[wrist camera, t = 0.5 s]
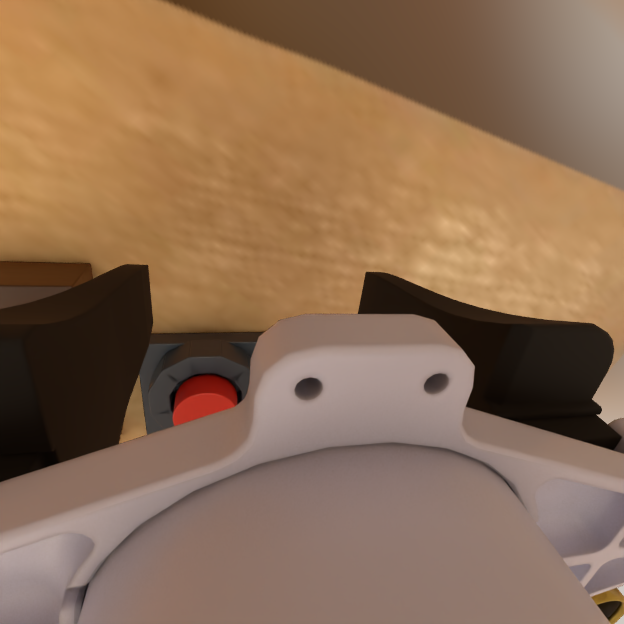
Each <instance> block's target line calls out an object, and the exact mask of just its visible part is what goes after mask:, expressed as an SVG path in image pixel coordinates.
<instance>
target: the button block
mask: <svg viewBox="0 0 624 624" xmlns="http://www.w3.org/2000/svg"><path fill="white" fill-rule="evenodd" d="M263 333H264V332H247V333H177V334H151V337H150V342H149V347H148V350H147V353H146V355H145V358H144V361H143V364H142V366H141V369H140V372H139V375H140V383H141V391H142V399H143V407H144V414H145V422H146V430H147V435H148V434H151V433H155V432H158V431H161V430H164V429H167V428H170V427H173V426H174V423H173V410H174V404H175V397H176V393H177V391H178V389H179V387H180V386H181V385H182V384H183V383H184V382H185V381H187V380H188V379H190V378H192V377H195V376H198V375H204V374H211V375H217V376H220V377H223V378H225V379H227V380H228V381H229V382H230V383H231V384H232V385H233V386H234V388H235V389H236V392H237V404H239V403H240V402H241V401H242V400H243V399H244V398H245V396H246V394H247V392H248V387H249V381H250V360H251V357H252V354H253V351H254V349H255V346H256V343H257V340H258V338H259V336H261V335H262V334H263Z"/></svg>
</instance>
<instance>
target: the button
mask: <svg viewBox="0 0 624 624" xmlns="http://www.w3.org/2000/svg"><path fill="white" fill-rule="evenodd" d="M236 405H238V404H237V392H236V389H235V388H234V386H233V385H232V384H231V383H230V382H229V381H228V380H227V379H225V378H223V377H220V376H217V375H211V374H204V375H198V376H195V377H192V378H190V379H188V380H187V381H185V382H184V383H183V384H182V385H181V386H180V387H179V389H178V391H177V393H176V397H175V404H174V410H173V423H174V426H176V425H179V424H183V423H186V422H189V421H192V420H195V419H198V418H201V417H204V416H207V415H210V414H214V413H217V412H220V411H223V410H226V409H229V408H232V407H235V406H236Z"/></svg>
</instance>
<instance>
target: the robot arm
mask: <svg viewBox="0 0 624 624" xmlns="http://www.w3.org/2000/svg"><path fill="white" fill-rule="evenodd" d="M152 326H153V316H152V304H151V293H150V282H149V270H148V265H132V264H126V265H122V266H120V267H117V268H115V269H113V270H111V271H108V272H106V273H104V274H102V275H100V276H98V277H96V278H94V279H92V280H89V281H87V282H85V283H82V284H80V285H78V286H75V287H73V288H71V289H68V290H66V291H63V292H61V293H58V294H55V295H52V296H49V297H46V298H43V299H39V300H36V301H33V302H29V303H25V304H21V305H16V306H12V307H7V308H3V309H0V624H611V623H610V622H609V621H608V619H607V618H606V617H605V615H604V614H603V613H602V611H601V610H600V609H599V607H598V606H597V605H596V603H595V602H594V600H593V599H592V598H591V597H592V596H595V595H597V594H600V593H603V592H606V591H609V590H612V589H614V588H617V587H620V586H623V585H624V418H620V419H617V420H614V421H612V422H611V423H609V424H606V423H605V422H604V421H603V420H602V419H600V418H599V417H598V416H597V414H600V413H601V411H602V408H601V406H599V405H598V404H597V403H596V402H594V401H593V400H592V398H593V396H594V394H595V393H596V391H597V389H598V387H599V385H600V384H601V382H602V380H603V379H604V377H605V375H606V373H607V372H608V369H609V367H610V365H611V363H612V359H613V354H614V346H613V340H612V338H611V337H610V336H609V334H608V333H607V332H606V331H604V330H602V329H601V328H599V327H598V326H596V325H595V324H592V323H580V322H567V321H554V320H544V319H536V318H529V317H522V316H516V315H511V314H506V313H501V312H496V311H492V310H487V309H483V308H479V307H476V306H473V305H469V304H466V303H462V302H459V301H456V300H453V299H451V298H448V297H445V296H443V295H440V294H437V293H435V292H432V291H430V290H428V289H425V288H423V287H420V286H418V285H416V284H413V283H411V282H409V281H406V280H404V279H402V278H399V277H397V276H394V275H391V274H388V273H383V272H366V274H365V280H364V285H363V290H362V295H361V301H360V306H359V311H358V314H303V315H299V316H295V317H290V318H286V319H282V320H279V321H278V322H277V323H275V324H274V325H273V326H272V327H270V328H269V329H268V330H267V331H265V332H264V333H263V334H262V335H261V336H259V338H258V340H257V343H256V346H255V349H254V351H253V354H252V357H251V360H250V381H249V387H248V392H247V394H246V396H245V398H244V399H243V400H242V401H241V402H240V403H239V404H238V405H236V406H235V407H232V408H229V409H226V410H223V411H220V412H217V413H214V414H210V415H207V416H204V417H201V418H198V419H195V420H192V421H189V422H186V423H183V424H179V425H176V426H173V427H170V428H167V429H164V430H161V431H158V432H155V433H151V434H148V435H145V436H142V437H139V438H136V439H133V440H130V441H127V442H124V443H120V444H119V439H120V435H121V430H122V426H123V421H124V417H125V412H126V409H127V406H128V402H129V399H130V396H131V393H132V391H133V388H134V385H135V383H136V380H137V377H138V375H139V372H140V369H141V366H142V364H143V361H144V358H145V355H146V353H147V350H148V347H149V342H150V337H151V332H152Z"/></svg>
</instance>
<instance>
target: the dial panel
mask: <svg viewBox="0 0 624 624" xmlns="http://www.w3.org/2000/svg"><path fill="white" fill-rule="evenodd" d="M92 279H93V277H92V271H91V265H90V264H82V263H39V262H0V309H3V308H7V307H12V306H16V305H21V304H25V303H29V302H33V301H36V300H39V299H43V298H46V297H49V296H52V295H55V294H58V293H61V292H63V291H66V290H68V289H71V288H73V287H75V286H78V285H80V284H82V283H85V282H87V281H89V280H92ZM119 441H120V439H119Z"/></svg>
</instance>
